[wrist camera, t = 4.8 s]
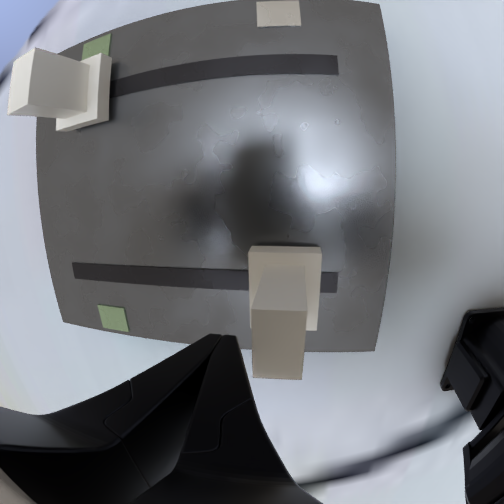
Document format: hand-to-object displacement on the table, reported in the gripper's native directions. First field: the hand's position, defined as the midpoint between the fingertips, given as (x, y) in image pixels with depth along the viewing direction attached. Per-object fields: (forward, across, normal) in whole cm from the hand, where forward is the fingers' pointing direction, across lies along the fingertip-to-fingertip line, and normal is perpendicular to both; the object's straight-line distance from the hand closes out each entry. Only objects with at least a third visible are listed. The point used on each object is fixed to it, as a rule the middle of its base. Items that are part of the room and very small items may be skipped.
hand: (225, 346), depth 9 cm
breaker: (+5, +8, -10) cm, 14 cm away
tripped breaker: (+5, -2, 0) cm, 5 cm away
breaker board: (+8, +3, -5) cm, 10 cm away
